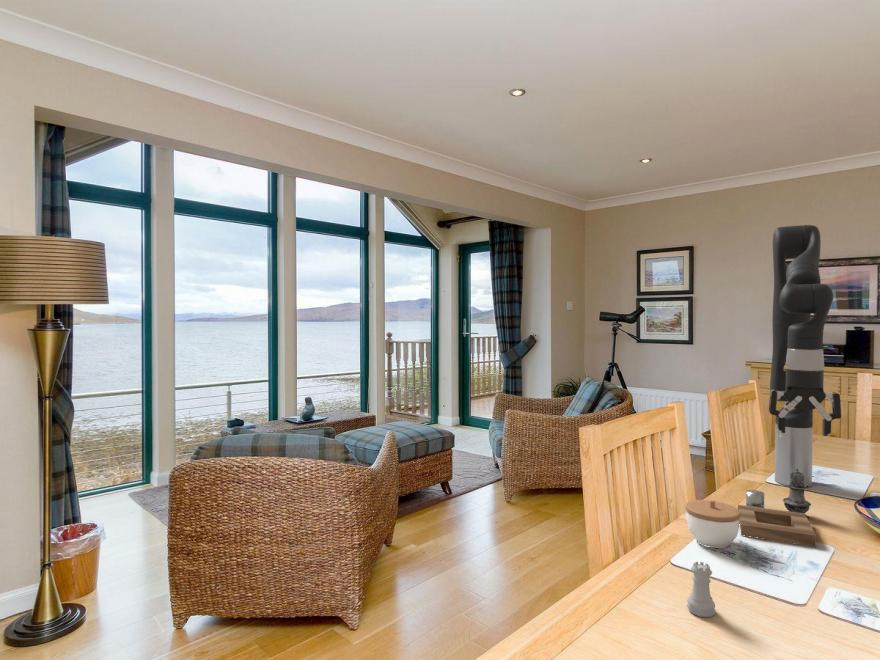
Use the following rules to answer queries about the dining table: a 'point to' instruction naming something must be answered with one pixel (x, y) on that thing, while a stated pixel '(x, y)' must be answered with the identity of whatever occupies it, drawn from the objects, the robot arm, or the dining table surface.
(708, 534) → the lidded jar
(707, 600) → the rook chess piece
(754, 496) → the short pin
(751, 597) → the dining table surface
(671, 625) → the dining table surface
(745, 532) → the hole board
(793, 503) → the dark chess piece
